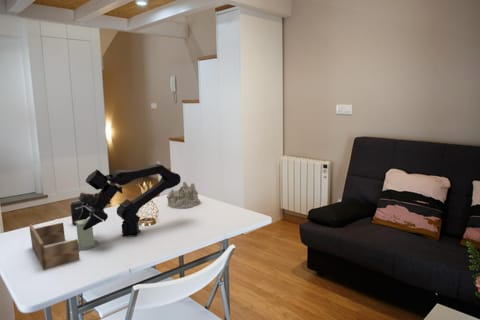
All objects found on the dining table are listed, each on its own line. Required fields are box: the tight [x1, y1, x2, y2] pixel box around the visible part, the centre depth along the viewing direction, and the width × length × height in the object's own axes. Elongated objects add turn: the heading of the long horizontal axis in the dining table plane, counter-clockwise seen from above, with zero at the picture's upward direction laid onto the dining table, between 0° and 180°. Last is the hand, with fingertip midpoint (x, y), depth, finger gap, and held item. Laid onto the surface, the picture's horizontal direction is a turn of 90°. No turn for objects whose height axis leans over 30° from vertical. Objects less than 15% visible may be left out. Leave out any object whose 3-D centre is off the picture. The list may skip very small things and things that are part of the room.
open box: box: [28, 222, 81, 270], centre depth 146 cm, size 12×25×10 cm, turn 37°
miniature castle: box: [166, 181, 201, 210], centre depth 206 cm, size 16×16×15 cm
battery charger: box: [69, 200, 83, 226], centre depth 179 cm, size 7×4×11 cm, turn 126°
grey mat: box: [78, 239, 100, 251], centre depth 154 cm, size 10×10×1 cm
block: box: [75, 218, 95, 248], centre depth 153 cm, size 5×5×10 cm
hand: (80, 226), depth 152 cm, fingers open, 9 cm apart
